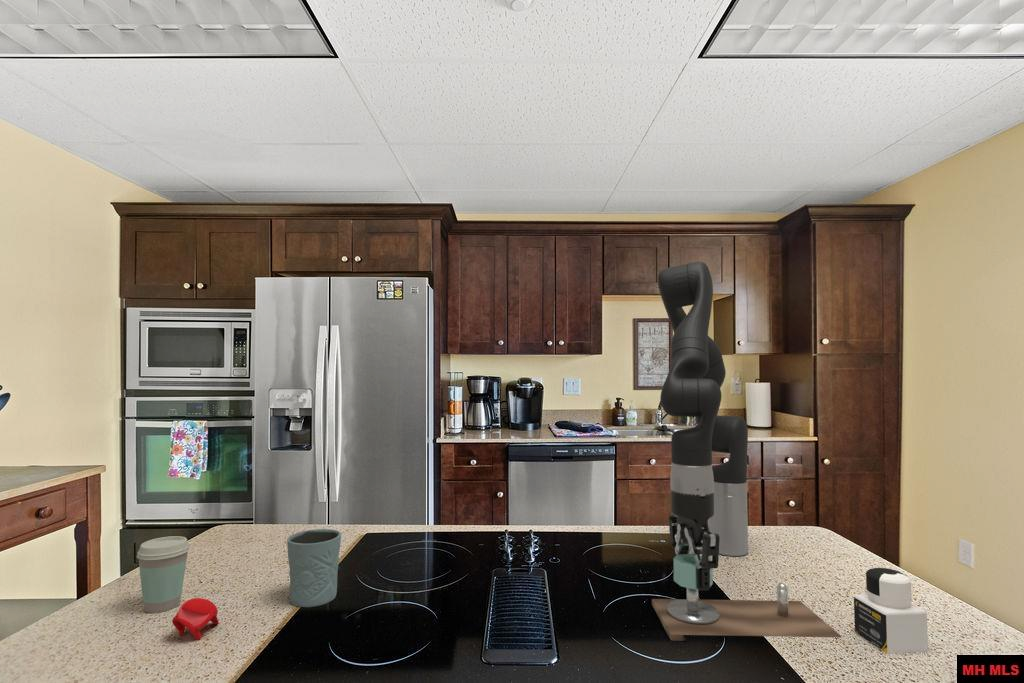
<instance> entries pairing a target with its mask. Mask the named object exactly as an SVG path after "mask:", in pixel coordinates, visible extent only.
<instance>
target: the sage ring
mask: <svg viewBox="0 0 1024 683" xmlns="http://www.w3.org/2000/svg"><path fill="white" fill-rule="evenodd" d="M700 559H701V561H702V555H700ZM696 568H697V566H696V562H695V558H694V555H692V554H691V553H689V554H678V555H677V554H676V555H675V556H674V557H673V582H675V583H676V584H677V585H679V587H682V588H685V589H687V588H691V589H695V590H697V586H696ZM713 569H714V568H711V569H710V588H711V587H712V585H713V584H714V581H713V580H714V575H713Z"/></svg>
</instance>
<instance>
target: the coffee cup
mask: <svg viewBox="0 0 1024 683" xmlns="http://www.w3.org/2000/svg"><path fill="white" fill-rule="evenodd" d="M190 550H191V547H190V543H189V542H188V538H187V537H185V536H181V535H180V536H176V535H175V536H174V535H172V536H171V535H170V536H163V537H162V536H161V537H158V538H152V539H150V540H146V541H144V542H142V543H141V544H140V546H139V549H138V551H137V555H136V558H137V559H138V563H139V564H138V566H139V568H138V569H139V576H140V588H141V598H142V607H143V608H142V609H143V612H145V613H147V614H148V613H149V614H158V613H163V612H167V611H170V610H173V609H175V608H177V607H178V606H179V605H180V603H181V598H182V593H183V592H182V591H183V586H184V580H185V572H186V566H187V559H188V554H189V553H188V552H189V551H190Z"/></svg>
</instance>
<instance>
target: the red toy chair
mask: <svg viewBox="0 0 1024 683" xmlns="http://www.w3.org/2000/svg"><path fill="white" fill-rule="evenodd" d="M218 612H219V611H218V608H217V606H216V604H215V603H214V602H213V601H211V600H209V599H206V598H202V597H198V598H197V597H196V598H195V597H194V598H190V599H188V600H186V601H184V602H183V603H182V604H181V605H180V607H179V608H178V610H177V612H176V614H175V616H174V617H173V618H172V620H171V623H172V625H173V626H174V628H176V631H177V632H178V634H179V635H180V636H184V634H185V632H186V629H187V630H188V631H189V632H190V633H191V634H192V635H193V636H194V638H195V639H196V640H198V641H200V640H201V639H202V638H203V635H202V633H201V632H200V630H201V629H202V628H204V627H205V626H207V625H208V624H209V623H212V624H214V625H216V626H217V625H219V622H220V621H219V619H218V617H217V616H218Z"/></svg>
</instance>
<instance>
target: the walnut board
mask: <svg viewBox="0 0 1024 683" xmlns="http://www.w3.org/2000/svg"><path fill="white" fill-rule="evenodd" d="M675 600H682V599H681V598H679V599H678V598H677V599H676V598H674V599H673V598H671V599H670V598H651V605H652V607H653V609H654V611H655V613H656V615H657V617H658V618H659V621H660V623H661V625H662V627H663V628H664V631H665V632H666V634H667V636H668V638H669V640H670V641H673V642H676V641H678V642H680V641H681V642H682V641H683V642H686V641H687V639H686V638H685V636H731V637H733V636H735V637H736V636H737V637H784V638H785V637H791V638H792V637H794V638H797V637H798V638H800V637H801V638H802V637H803V638H805V637H806V638H843V636H842V635H841V634H839V633H838V631H836V630H835V629H833V627H831V626H830V625H829V624H828V623H827V622H826V621H824V620H823V619H822V618H821V617H820V616H818V614H816V613H815V612H814V611H812V609H810V608H809V607H808V606H807V605H806V604H805V603H803V602H802V601H801V600H788V614H789V616H788V617H782V616H779V615H778V614H777V600H761V599H759V600H756V599H754V600H751V599H698V601H701V602H704V603H707V604H710V605H712V606H713V607H715V608H716V609H717V610H718V611H719V620H718V621H717V622H715V623H713V624H709V625H693V624H688V623H684V622H681V621H678V620H676V619H674V618H672V617H671V616H670V615H669V614H668V613H667V605H668V604H669V603H670V602H672V601H675Z"/></svg>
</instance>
